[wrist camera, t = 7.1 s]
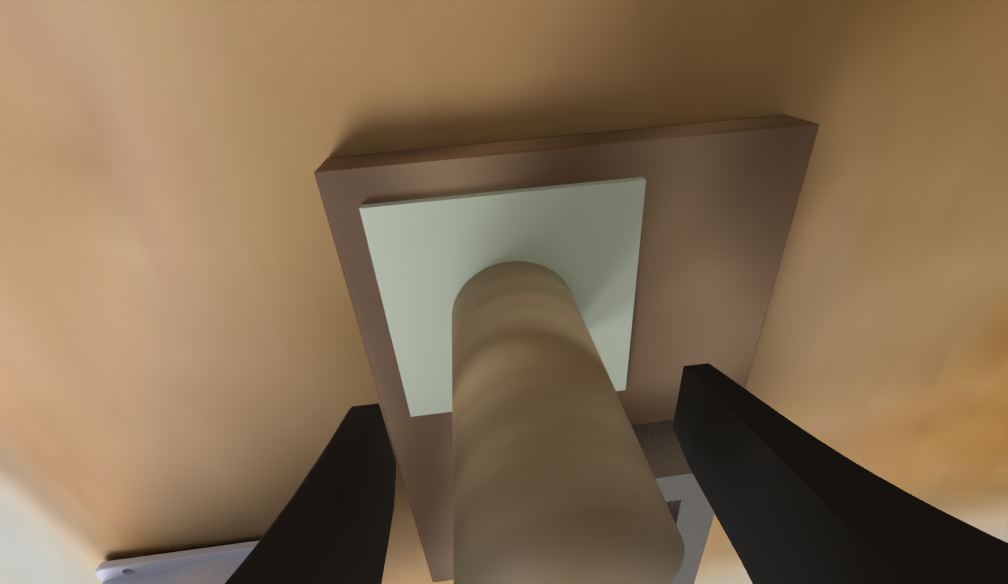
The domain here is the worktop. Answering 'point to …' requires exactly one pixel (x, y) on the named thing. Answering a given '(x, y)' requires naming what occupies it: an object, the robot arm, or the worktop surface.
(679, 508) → the grey square frame
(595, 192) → the pad
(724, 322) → the walnut board
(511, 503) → the maple peg
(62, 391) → the worktop surface
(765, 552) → the robot arm
